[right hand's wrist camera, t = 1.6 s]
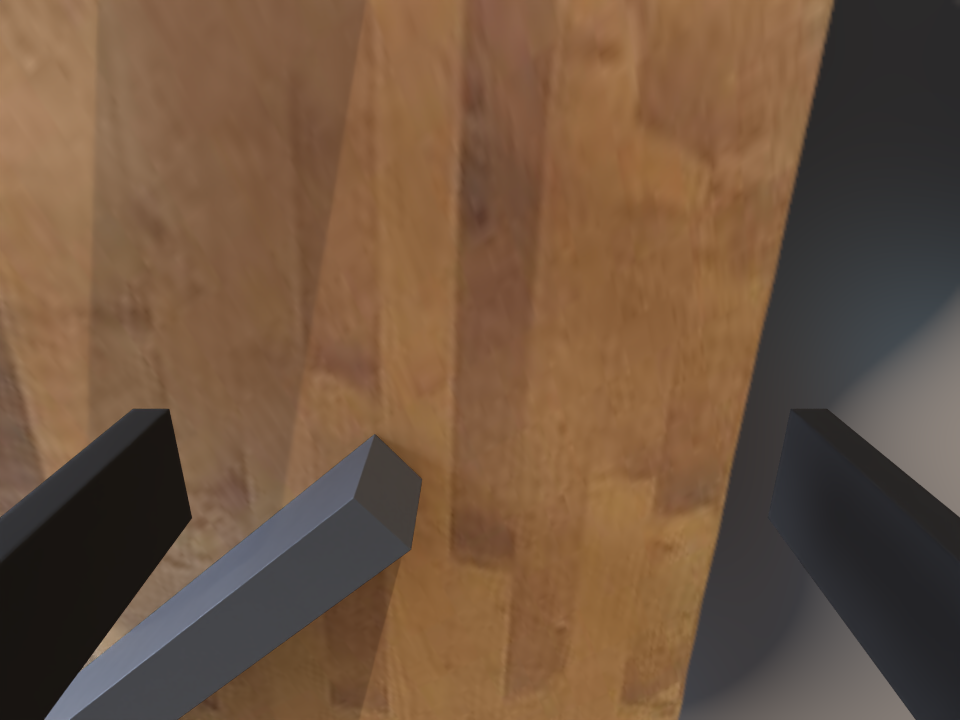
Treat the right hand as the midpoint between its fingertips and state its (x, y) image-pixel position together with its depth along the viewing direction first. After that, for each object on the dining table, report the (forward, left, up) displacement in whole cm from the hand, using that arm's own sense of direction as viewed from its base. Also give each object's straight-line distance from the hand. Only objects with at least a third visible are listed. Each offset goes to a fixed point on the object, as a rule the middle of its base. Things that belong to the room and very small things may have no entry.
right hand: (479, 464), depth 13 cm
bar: (-13, -39, -27) cm, 49 cm away
